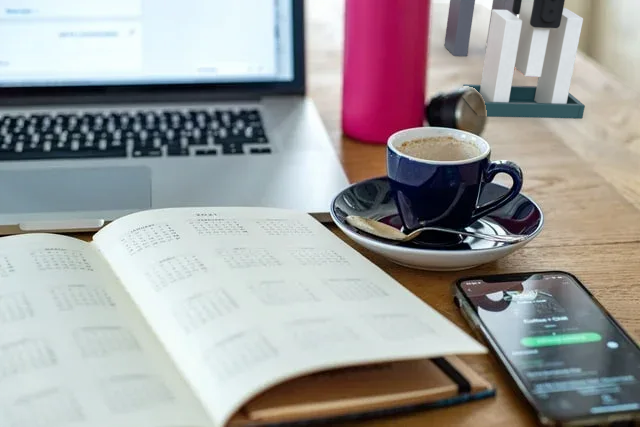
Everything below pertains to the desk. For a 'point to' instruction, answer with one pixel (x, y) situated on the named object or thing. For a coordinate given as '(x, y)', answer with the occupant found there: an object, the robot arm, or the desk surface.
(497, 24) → the white book
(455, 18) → the gray arch block
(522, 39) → the thin white book
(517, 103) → the shallow teal tray
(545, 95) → the white book
